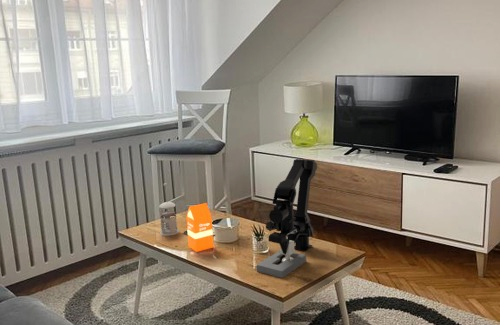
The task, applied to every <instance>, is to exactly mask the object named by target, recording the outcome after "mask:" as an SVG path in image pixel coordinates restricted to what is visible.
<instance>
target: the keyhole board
mask: <svg viewBox="0 0 500 325" xmlns="http://www.w3.org/2000/svg"><path fill="white" fill-rule="evenodd" d="M290 257H292V258H294V259H292V260H291V261H289V260H285V261H284V262H282V261H281V259H282V258H285V255H284V254H281V249H280V250H279V251H278V250H277V252H274V253H273V254H272V255H270V256H269V257H267V258H265V259H264V260H262V261H261V262H259V263H257V264H256V272H258V273H262V274H267V275H269V276H273V277H276V278H280V279H283V278H284V277H286V276H288V275H289V274H290V273H292V272H293V271H295V270H296V269H297V268H299V267H301V266H302V265H304V263H306V262H307V255H306V254H303V253H298V252H294V253H293V254H291V255H290ZM280 261H281V262H280ZM278 262H280V263H279V264H277V263H278Z"/></svg>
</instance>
